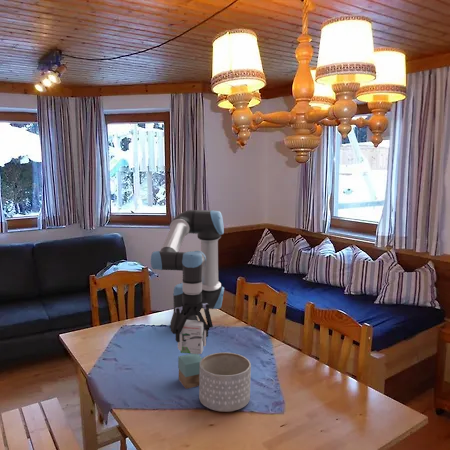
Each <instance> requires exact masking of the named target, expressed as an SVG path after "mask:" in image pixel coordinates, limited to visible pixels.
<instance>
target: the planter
mask: <svg viewBox="0 0 450 450" xmlns="http://www.w3.org/2000/svg"><path fill="white" fill-rule="evenodd" d="M201 358H202V359H201V361H200V363H199V386H198V389H199V391H198V399H199V401H200V403H201V404H202V405H203V406H204V407H205V408H207V409H210V410H212V411H215V412H219V413H221V412H222V413H230V412H235V411H237V410H240V409H243V408H244V407H246V406H247V405H248V404H249V403H250V400H251V380H252V379H251V378H252V377H251V376H252V375H251V373H252V372H251V371H252V364H251V361H250V360H249V359H248V358H247V357H245V356H244V355H241V354H239V353H234V352H226V351H224V352H216V353H215V352H214V353H211V354H207V355H206V356H204V357H201Z"/></svg>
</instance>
